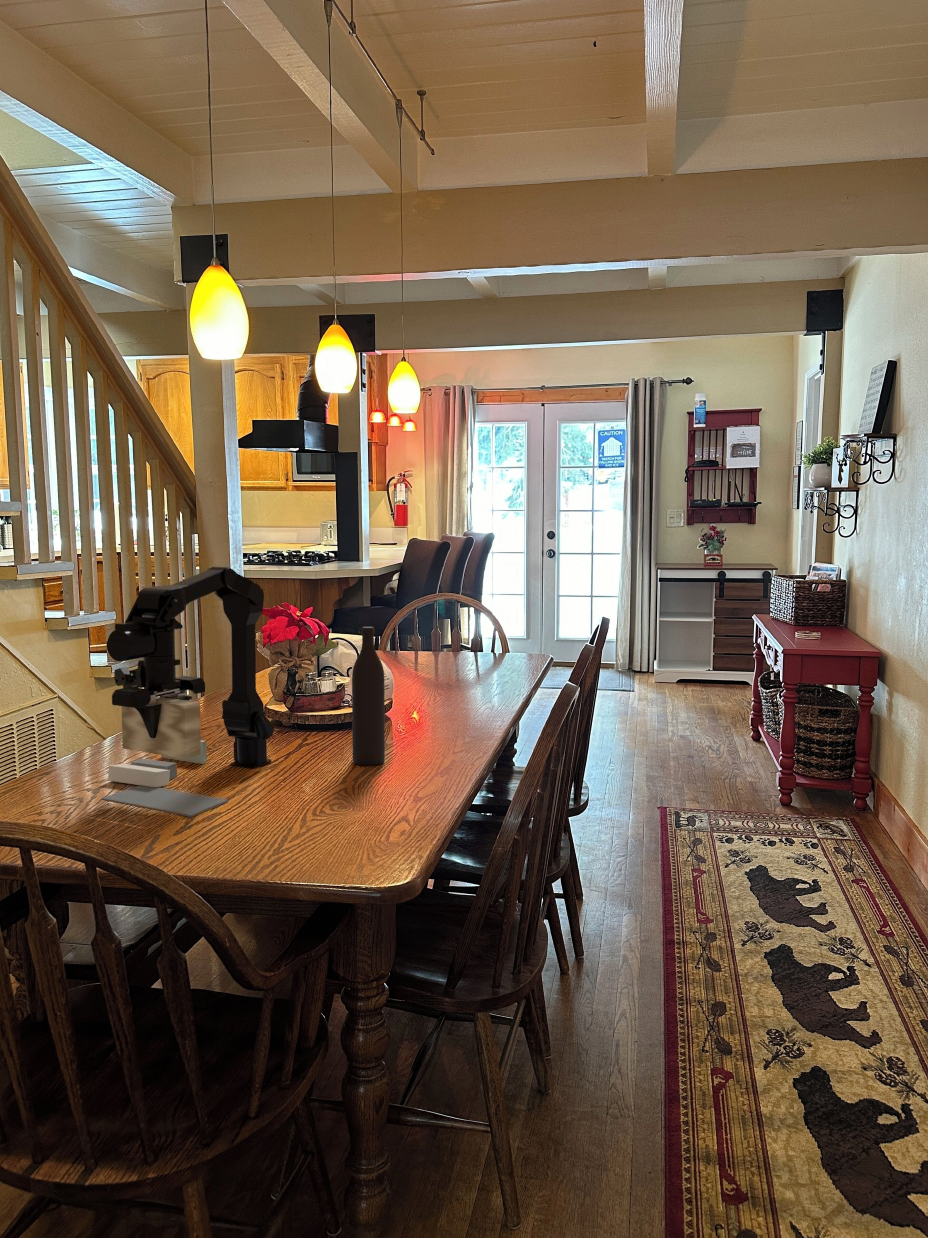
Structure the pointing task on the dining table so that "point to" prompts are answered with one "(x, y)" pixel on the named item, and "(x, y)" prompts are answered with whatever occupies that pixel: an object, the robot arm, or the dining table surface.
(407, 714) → the dining table surface
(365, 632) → the wine bottle
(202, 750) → the panel
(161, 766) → the offcut upper
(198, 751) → the beige brown block
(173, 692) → the robot arm
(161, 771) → the offcut lower
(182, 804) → the mat
